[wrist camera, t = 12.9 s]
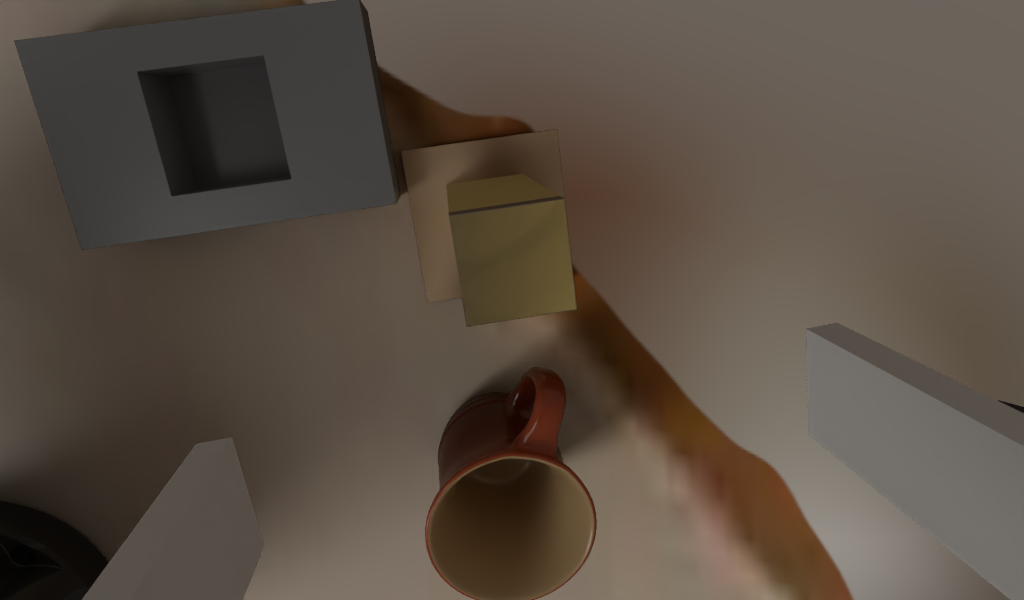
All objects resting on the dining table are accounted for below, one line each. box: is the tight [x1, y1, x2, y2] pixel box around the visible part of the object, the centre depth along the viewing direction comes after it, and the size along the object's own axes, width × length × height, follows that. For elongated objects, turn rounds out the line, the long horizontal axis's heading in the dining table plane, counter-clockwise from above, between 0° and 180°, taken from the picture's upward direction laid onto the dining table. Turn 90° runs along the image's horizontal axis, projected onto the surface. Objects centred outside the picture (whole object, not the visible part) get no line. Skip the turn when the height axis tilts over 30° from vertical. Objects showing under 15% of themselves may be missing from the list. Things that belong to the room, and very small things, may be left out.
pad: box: [401, 129, 574, 303], centre depth 38 cm, size 9×9×1 cm
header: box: [14, 0, 401, 250], centre depth 34 cm, size 16×10×4 cm, turn 98°
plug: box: [446, 174, 577, 327], centre depth 32 cm, size 5×4×13 cm
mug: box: [425, 367, 597, 600], centre depth 37 cm, size 12×9×10 cm
